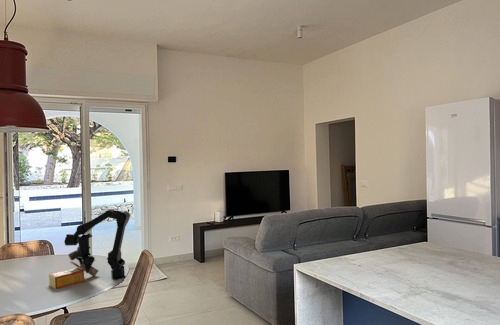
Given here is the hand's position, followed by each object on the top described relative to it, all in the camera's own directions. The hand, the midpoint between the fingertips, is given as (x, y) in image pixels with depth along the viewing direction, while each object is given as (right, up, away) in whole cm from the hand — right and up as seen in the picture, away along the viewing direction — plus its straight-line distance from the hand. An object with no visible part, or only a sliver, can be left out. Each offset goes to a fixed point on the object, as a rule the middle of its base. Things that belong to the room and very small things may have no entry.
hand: (84, 271), depth 221 cm
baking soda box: (-12, -2, -14) cm, 19 cm away
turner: (-1, +1, -1) cm, 2 cm away
